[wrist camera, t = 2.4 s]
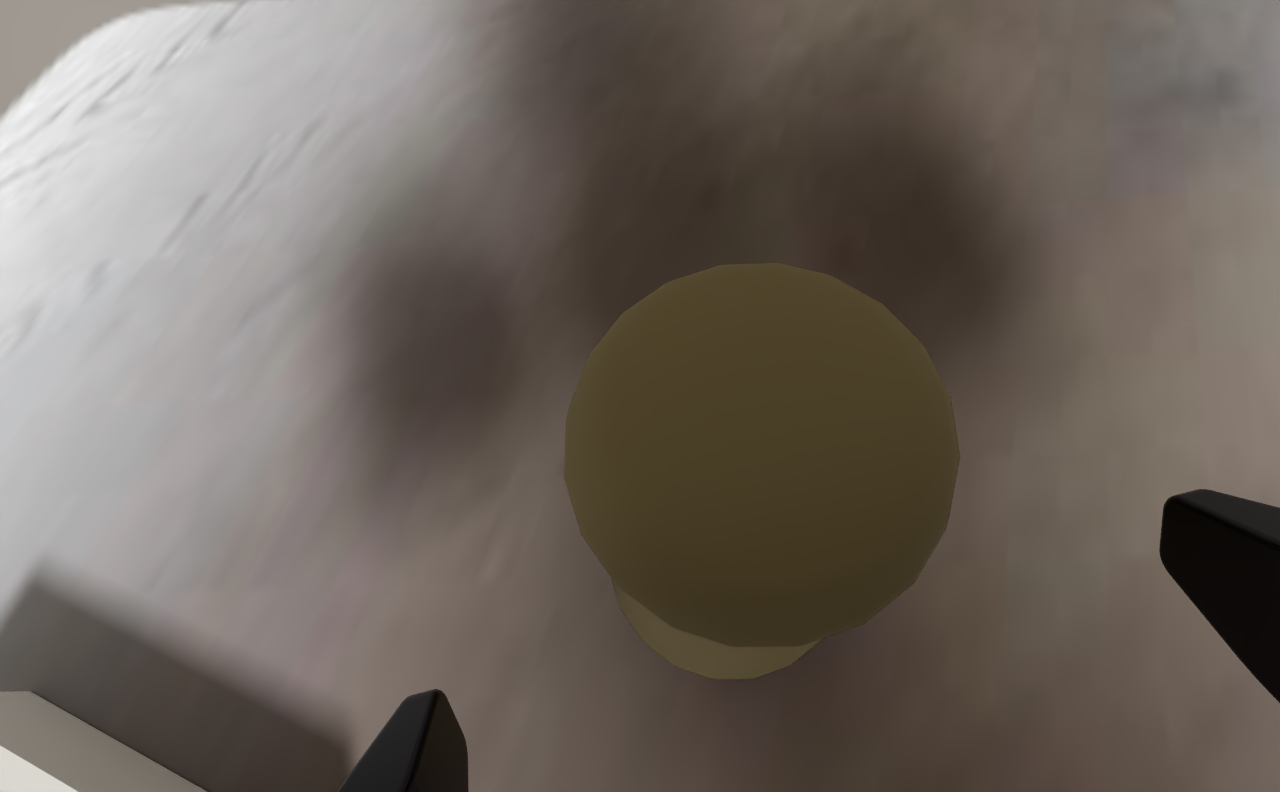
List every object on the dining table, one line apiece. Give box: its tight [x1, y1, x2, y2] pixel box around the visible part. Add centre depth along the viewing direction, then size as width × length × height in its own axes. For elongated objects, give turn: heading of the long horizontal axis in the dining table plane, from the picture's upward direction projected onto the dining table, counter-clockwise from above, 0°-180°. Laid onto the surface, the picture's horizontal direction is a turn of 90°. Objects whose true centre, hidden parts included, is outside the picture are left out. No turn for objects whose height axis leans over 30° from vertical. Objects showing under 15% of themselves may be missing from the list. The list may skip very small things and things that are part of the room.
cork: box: [564, 262, 960, 679], centre depth 14 cm, size 6×6×11 cm
